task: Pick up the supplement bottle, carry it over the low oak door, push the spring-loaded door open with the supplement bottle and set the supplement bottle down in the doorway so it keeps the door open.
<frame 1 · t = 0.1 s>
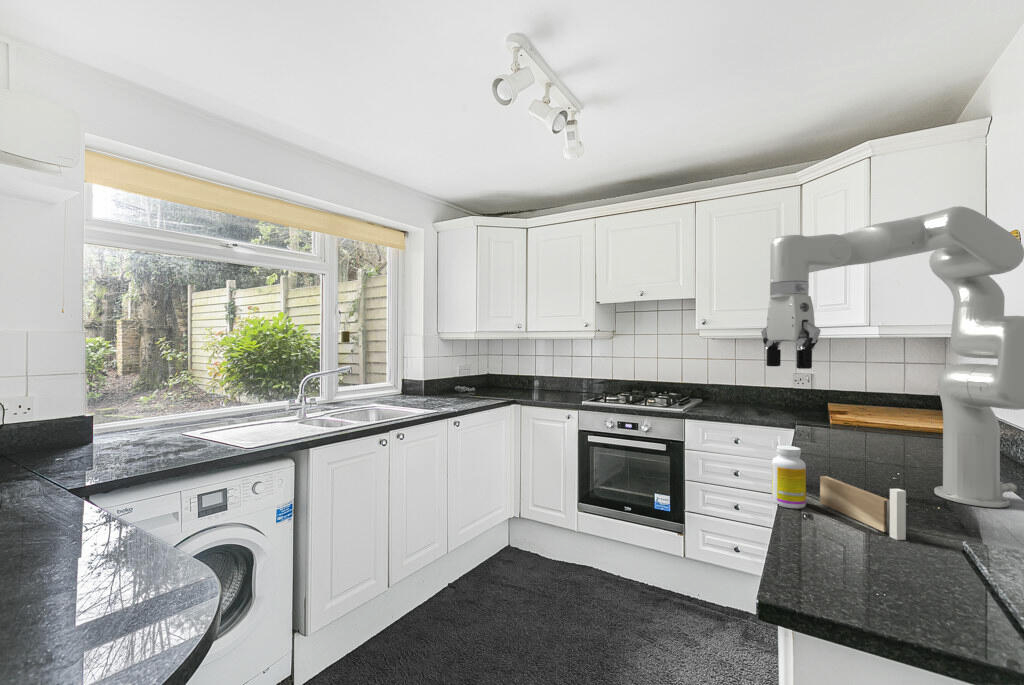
hand: (788, 367, 107), 31 cm above the counter, fingers open, 9 cm apart
gate post: (890, 534, 90), on the counter
supplement bottle: (788, 505, 107), on the counter
door: (854, 502, 98), point 3 cm above the counter, hinge at 0.0°
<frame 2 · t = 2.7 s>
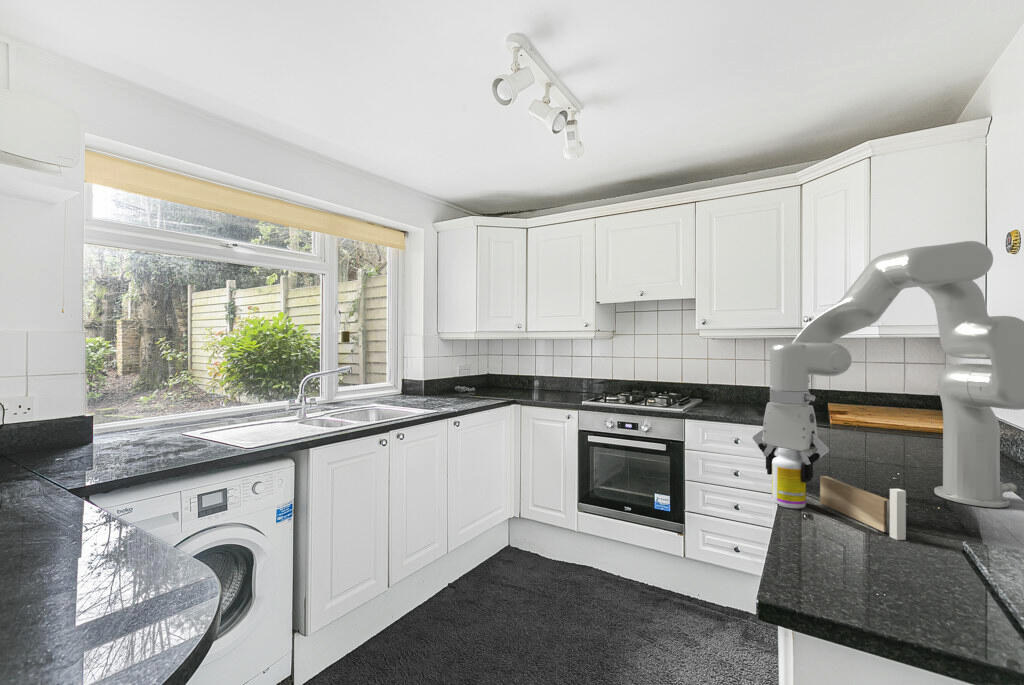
hand: (788, 476, 107), 6 cm above the counter, fingers closed on supplement bottle, 6 cm apart
supplement bottle: (788, 505, 107), on the counter, touching gripper
everything else where it was.
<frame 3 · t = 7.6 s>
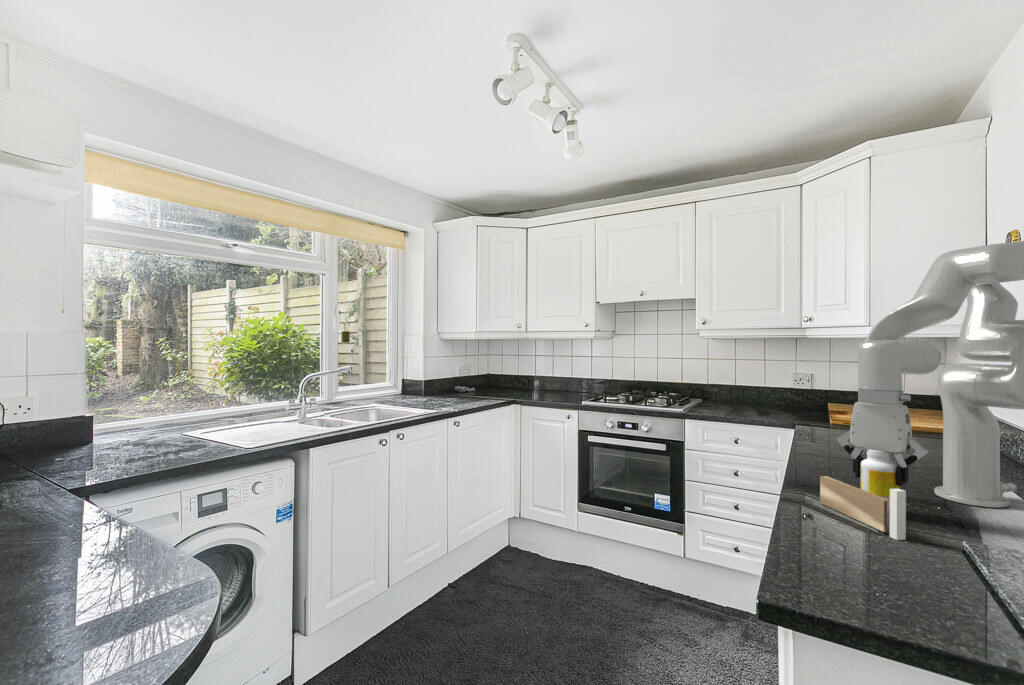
hand: (879, 479, 102), 7 cm above the counter, fingers closed on supplement bottle, 6 cm apart
supplement bottle: (879, 509, 102), on the counter, touching gripper
everything else where it was.
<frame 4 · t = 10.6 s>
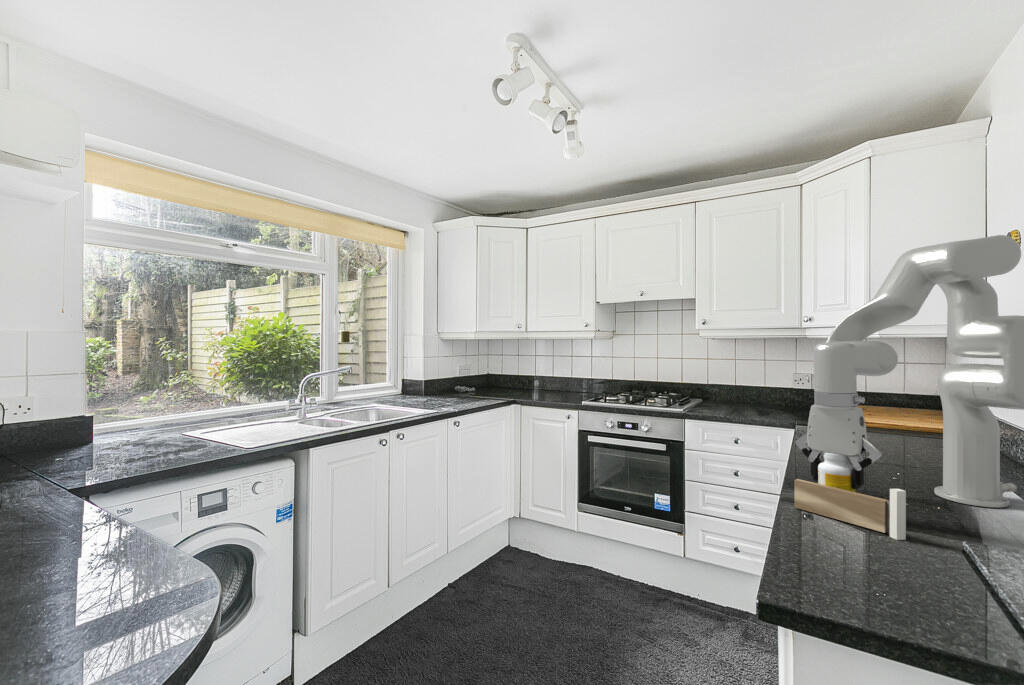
hand: (836, 483, 101), 6 cm above the counter, fingers closed on supplement bottle, 6 cm apart
supplement bottle: (837, 512, 101), on the counter, touching door, gripper
door: (841, 504, 97), point 3 cm above the counter, hinge at 27.5°, touching supplement bottle
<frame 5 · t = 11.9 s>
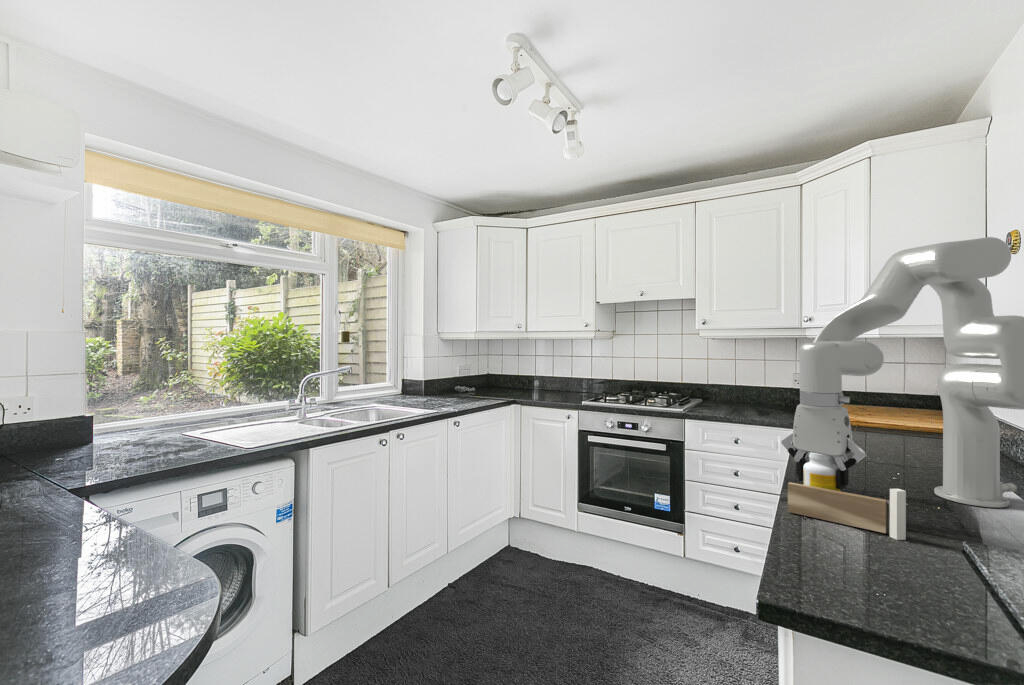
hand: (821, 483, 101), 6 cm above the counter, fingers closed on supplement bottle, 6 cm apart
supplement bottle: (822, 513, 101), on the counter, touching door, gripper
door: (837, 506, 96), point 3 cm above the counter, hinge at 41.4°, touching supplement bottle
when the fingers open (6 cm above the counter, at t = 12.8 s): supplement bottle stays where it is, on the counter.
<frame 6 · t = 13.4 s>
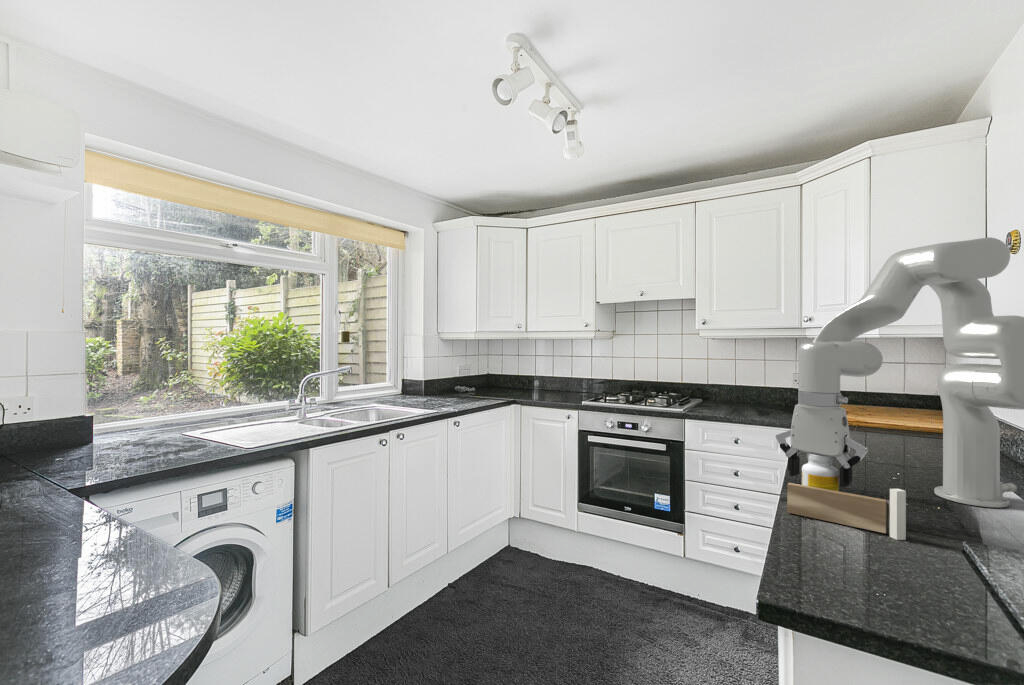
hand: (818, 480, 101), 7 cm above the counter, fingers open, 9 cm apart
supplement bottle: (819, 514, 101), on the counter
door: (837, 507, 95), point 3 cm above the counter, hinge at 43.1°
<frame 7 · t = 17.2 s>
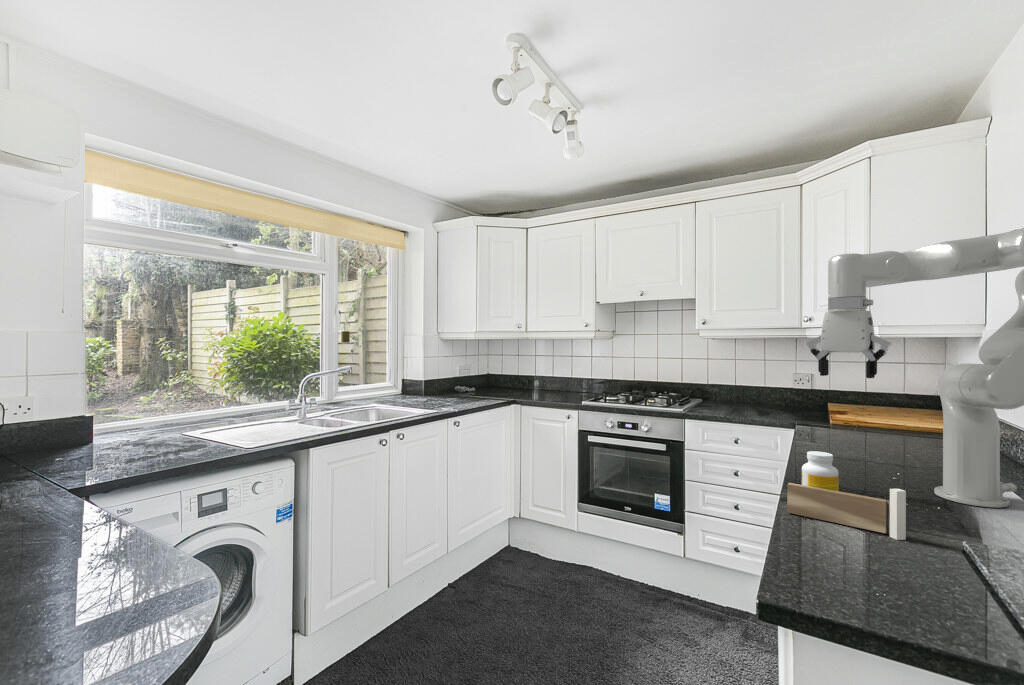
hand: (846, 376, 114), 28 cm above the counter, fingers open, 9 cm apart
nothing on the counter moved.
at the end: door at +43° (first picture: +0°); supplement bottle inside the target area (0.3 cm from its centre), on the counter; supplement bottle tilted 0° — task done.
